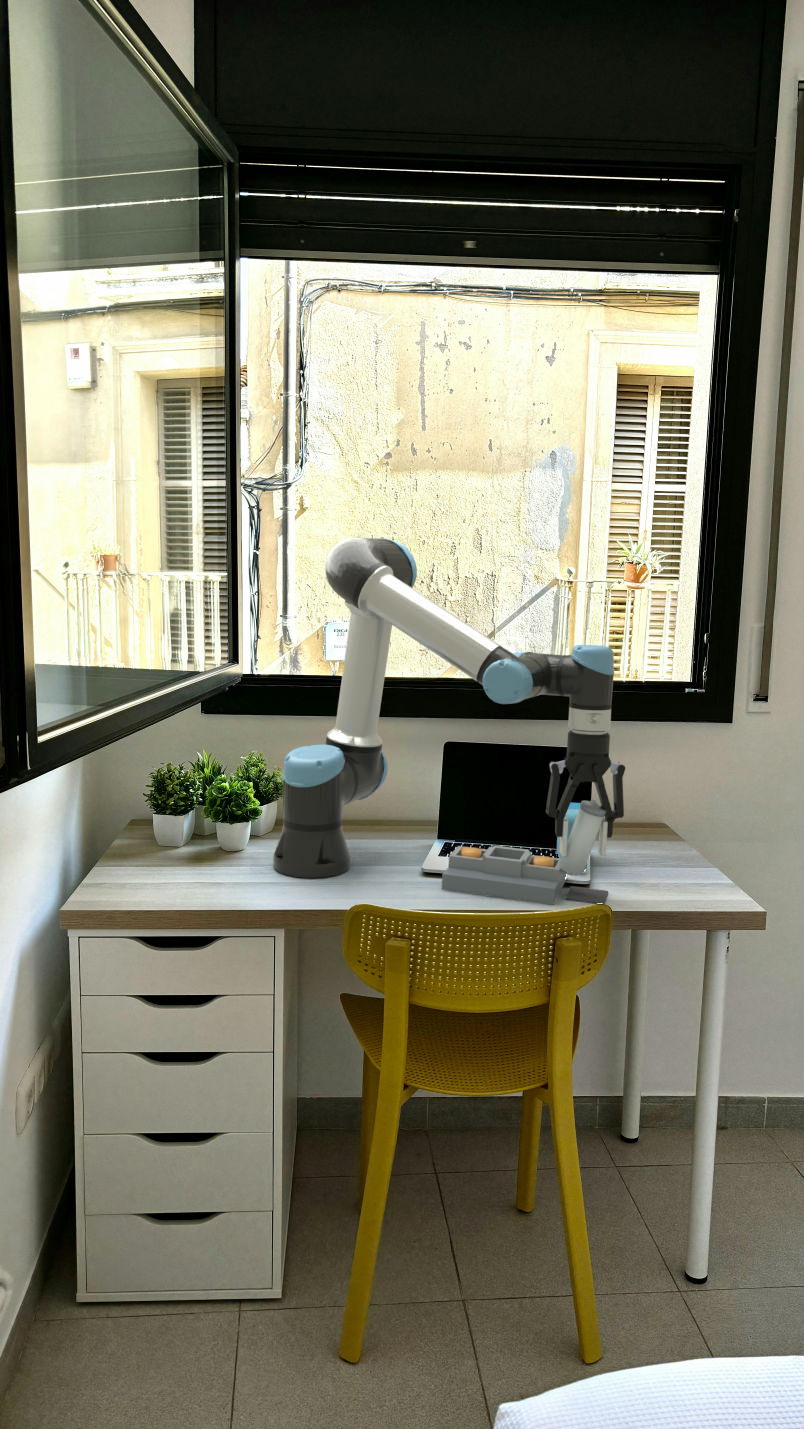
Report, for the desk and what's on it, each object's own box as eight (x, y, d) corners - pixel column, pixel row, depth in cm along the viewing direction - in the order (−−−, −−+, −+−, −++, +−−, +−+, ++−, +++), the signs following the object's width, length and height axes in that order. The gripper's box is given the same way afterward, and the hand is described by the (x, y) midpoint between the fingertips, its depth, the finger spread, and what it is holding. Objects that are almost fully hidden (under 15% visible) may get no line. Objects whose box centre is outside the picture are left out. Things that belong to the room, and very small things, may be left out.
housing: (441, 889, 184) (442, 858, 183) (462, 864, 199) (464, 836, 198) (553, 904, 177) (555, 872, 176) (566, 878, 192) (568, 848, 191)
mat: (564, 899, 180) (565, 897, 180) (570, 888, 187) (570, 886, 187) (603, 905, 178) (603, 903, 178) (607, 893, 185) (608, 890, 185)
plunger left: (458, 864, 188) (459, 851, 188) (463, 858, 192) (464, 846, 191) (478, 866, 187) (478, 854, 187) (482, 861, 191) (483, 848, 190)
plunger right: (531, 873, 184) (531, 860, 184) (534, 867, 188) (535, 855, 187) (551, 876, 183) (552, 863, 183) (554, 870, 187) (555, 857, 186)
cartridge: (556, 861, 185) (580, 794, 182) (580, 867, 185) (604, 801, 182) (561, 871, 180) (585, 803, 177) (585, 878, 181) (610, 810, 177)
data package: (586, 875, 195) (590, 816, 193) (563, 874, 195) (567, 815, 193) (577, 856, 207) (581, 801, 205) (556, 855, 207) (559, 800, 205)
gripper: (539, 733, 174) (533, 859, 177) (648, 735, 175) (640, 860, 178) (531, 726, 181) (526, 847, 185) (636, 728, 182) (629, 848, 186)
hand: (582, 853), depth 181 cm, fingers closed on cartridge, 7 cm apart
